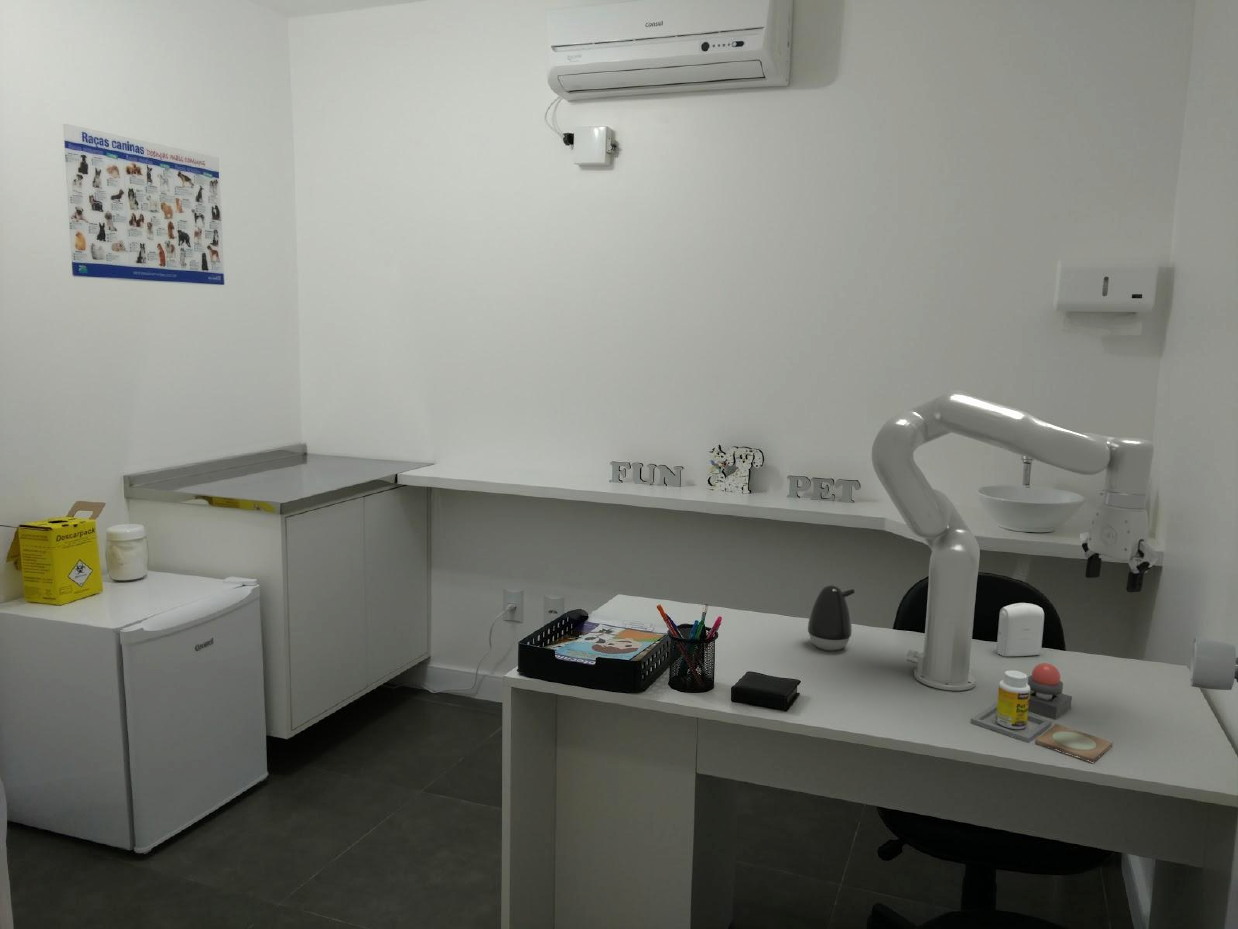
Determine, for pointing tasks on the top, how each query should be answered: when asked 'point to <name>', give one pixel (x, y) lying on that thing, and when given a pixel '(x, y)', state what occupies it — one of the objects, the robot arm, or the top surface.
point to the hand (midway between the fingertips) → (1112, 584)
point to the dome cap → (1045, 681)
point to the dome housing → (1050, 705)
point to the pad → (1074, 742)
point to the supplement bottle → (1013, 700)
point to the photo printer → (1020, 630)
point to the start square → (1028, 737)
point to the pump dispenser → (830, 619)
